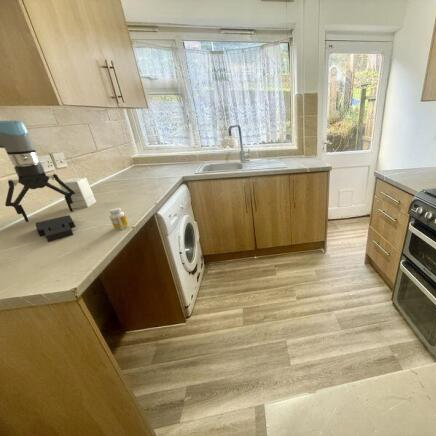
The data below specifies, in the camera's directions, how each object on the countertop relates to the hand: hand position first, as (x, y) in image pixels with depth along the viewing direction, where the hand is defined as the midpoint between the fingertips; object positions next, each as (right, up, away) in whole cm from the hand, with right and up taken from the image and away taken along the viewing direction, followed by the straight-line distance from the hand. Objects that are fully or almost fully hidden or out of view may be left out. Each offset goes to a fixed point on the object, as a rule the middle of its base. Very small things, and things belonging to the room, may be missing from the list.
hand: (50, 215), depth 101 cm
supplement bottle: (+24, -6, +8) cm, 26 cm away
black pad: (+1, -8, +4) cm, 9 cm away
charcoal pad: (-6, -6, +9) cm, 13 cm away
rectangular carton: (-18, +6, +38) cm, 42 cm away
